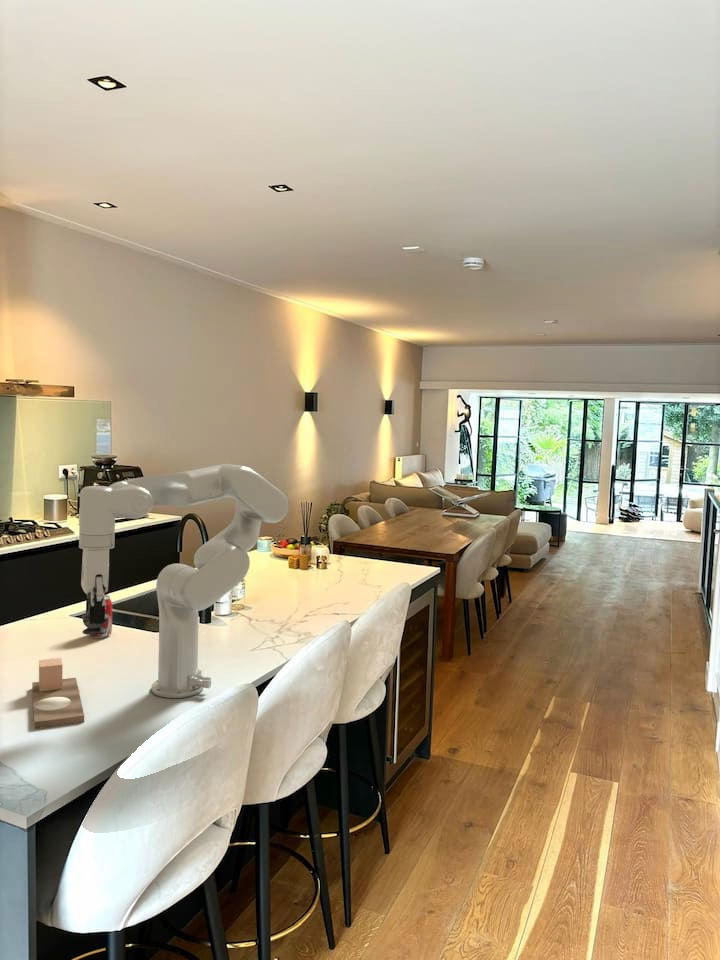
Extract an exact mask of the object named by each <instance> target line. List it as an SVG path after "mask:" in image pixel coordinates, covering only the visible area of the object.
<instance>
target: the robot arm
mask: <svg viewBox="0 0 720 960" xmlns="http://www.w3.org/2000/svg"><path fill="white" fill-rule="evenodd" d="M224 498H230V499H233V500H234V499H235V500H236V502H235V511H234V517H233V520H231V522H230V523H229V525H228V526H227V527H225V528H224V529H223V530H221V531H220V532H219V533H218V534H216V535H214V536H213V537H212V538H210V539H209V540H208V541H206V542H204V544H203V545H201V546H200V547H199V548H197V550H196V552H195V553H194V556H193V564H194V566H195V567H192V566H191V565H187V564H184V563H172V564H168V565H166V566H165V567H164V568H163V569H162V570H161V571H160V572H159V574H158V575H157V579H156V584H155V585H156V598H157V603H158V604H157V605H158V616H159V617H158V621H159V622H158V624H159V625H158V626H159V627H158V673H157V675H158V677H157V680H155V681H154V682H153V683H152V684H151V692H152V693H153V694H154V695H156V696H158V697H161V698H166V699H167V698H168V699H181V698H187V697H188V698H189V697H192V696H195V695H197V694H199V693H201V692H202V691H203V689H210V688H211V687H212V678H211V677H209V676H203V675H202V669H198V668H199V667H198V665H199V661H198V660H199V659H198V658H199V655H198V654H199V627H200V626H199V624H200V621H199V620H200V618H199V612H200V611H204V610H206V609H207V608H210V607H211V606H213V605H214V604H215V603H216V602H218V601H219V600H220V599H221V598H223V597H224V596H225V595H227V594H228V593H229V592H230V591H232V590H233V589H234V588H236V587H237V586H238V585H239V584H240V583H241V582H242V581H243V580H244V579H245V577H246V576H247V574H248V573H249V569H250V564H251V561H250V556H249V554H248V552H249V551H250V550H251V549H253V548H254V547H255V546H256V544H257V542H258V541H259V538H260V537H259V536H260V531H261V525H262V522H265V523H270V524H275V523H278V522H280V521H282V520H284V519H285V518H286V516H287V514H288V512H289V501H288V498H287V496H286V495H285V493H284V492H282V491H281V490H280V489H279V488H277V487H276V486H274V485H273V484H272V483H270V482H269V481H268V480H267V479H266V478H265V477H263V476H262V475H260V474H259V473H257V472H256V471H255V470H253V469H252V468H250V467H248V466H245V465H238V464H232V463H223V464H216V465H210V466H206V467H202V468H197V469H196V468H195V469H192V470H191V469H190V470H185V471H180V472H169V473H165V474H157V475H148V476H141V477H136V478H130V479H124V480H121V481H117V482H114V483H111V484H109V486H105V485H89V486H84V487H83V488H82V489H81V490H80V495H79V529H78V530H79V534H78V539H79V540H78V548H79V549H81V550H82V563H81V580H80V581H81V582H80V585H81V588H82V591H83V592H84V593H85V594H86V597H87V598H86V601H85V614H87V612H88V605H89V602H88V601H87V600H88V599H89V592H91V606H90V613H89V622H90V624H97V623H104V622H105V601H104V595H105V594H106V593H107V592H108V591H109V580H110V579H109V578H110V573H109V572H110V550H112V549H114V548H115V535H116V533H115V532H116V518H121V519H132V520H133V519H134V520H135V519H141V518H143V517H145V516H147V515H148V514H149V513H150V512H151V511H152V509H153V507H155V506H170V507H190V506H191V507H192V506H193V505H195V506H196V505H198V504H203V503H208V502H211V501H216V500H221V499H224ZM95 581H96V582H95ZM93 590H96V592H93ZM94 595H96V596H95V597H94Z"/></svg>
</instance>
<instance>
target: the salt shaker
mask: <svg viewBox="0 0 720 960" xmlns="http://www.w3.org/2000/svg"><path fill="white" fill-rule="evenodd" d="M95 582H96V581H95ZM93 592H96V590H93ZM95 596H96V595H94V597H95ZM87 601H88V602H89V605H88V612H87V614H86V613H85V614H83V615H81V617H80V618H81V619H82V622H83V625H84V626H85V627H86V628H85V629H83V630H82V634H83V635H87V636H89V635H100V634H104V633H106V632H107V629H105V628H103V626H104V625H105V624H106V622H107V618H108V617H109V615H108V614H105V622H104V623H97V624H90V622H89V613H90V606H91V592H89V599H88V600H87ZM87 627H88V628H87Z"/></svg>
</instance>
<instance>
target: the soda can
mask: <svg viewBox="0 0 720 960" xmlns="http://www.w3.org/2000/svg"><path fill="white" fill-rule="evenodd" d="M104 601H105V614H108V615H109V617H108V618H107V622H106V624H105V625H104V626H103V628H105V629H107V632H106V633H104V634H100V635H88V637H91V638H92V639H97V638H99V639H104V637H105V638H108V637H109V636H111V634H112V629H113V601H112V599H111V596H110V595H107V594H104ZM86 628H88V627H86ZM107 636H108V637H107Z"/></svg>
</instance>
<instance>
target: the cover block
mask: <svg viewBox="0 0 720 960" xmlns="http://www.w3.org/2000/svg"><path fill="white" fill-rule="evenodd" d="M62 679H63V661H62V658H61V657H57V658H56V657H55V658H48V659H47V658H46V659H39V660H38V682H39V690H40V691H48V690H56V689H62Z"/></svg>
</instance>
